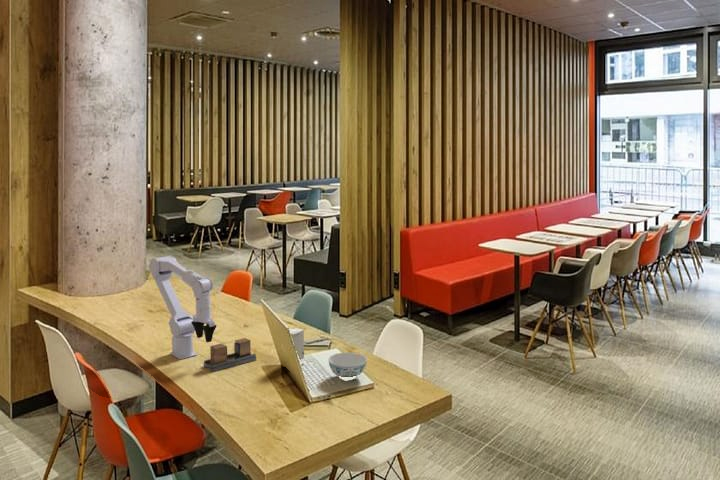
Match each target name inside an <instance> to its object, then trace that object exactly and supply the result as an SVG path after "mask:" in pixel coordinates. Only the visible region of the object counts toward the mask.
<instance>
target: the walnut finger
mask: <svg viewBox="0 0 720 480" xmlns="http://www.w3.org/2000/svg"><path fill="white" fill-rule="evenodd" d="M209 349H210V350H209V351H210V359H211V363H212V364H217V363H221V362H225V361H227V355H228V346H227V345H225V344H223V343H218V344H213V345H210V348H209Z"/></svg>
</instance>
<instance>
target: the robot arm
mask: <svg viewBox="0 0 720 480" xmlns="http://www.w3.org/2000/svg"><path fill="white" fill-rule="evenodd" d="M149 260H150V261H149V264H148V269H149V272H150V274H151V275H152V277H153V279H154V282H155V284H156V286H157V289H158V290H159V293H160V294H161V297H162V299H163V301H164V302H165V305H166V307H167V309H168V312H169V314H170V316H171V318H170V319H169V321H168V325H169V328H170V329H169V330H170V332H171V334H172V338H171V349H172V350H171V351H172V352H170V353H169V354H170V355H172V356H173V357H175V358H177V359H179V360H182V359H187V358H192V357H195V356H198V353H196V352H195V351H194V343H193V341H194V334H196V339H199V338H203V337H204V338H205V342H206V343H211V342H212V341H213V337H214V333H215V330H216V328H217V324H215V320H213V318H212V316H211V291H212V290H213V287H214V286H213V285H214V284H213V282H212V280H211V279H210V278H209V277H202V275H199V274H198V273H197V272H196V271H194V269H188V270H187V269H186V268H185V267H183V266H182V265H181V264H180V263H178V261H177V259H176V257H174V256H173V255H167V256H160V257H156V258H155V257H154V258H153V257H152V258H151V259H149ZM173 273H174V274H175V275H177V276H179V277H180V278H181V280H182V282H183V283H184V284H186V285H187V286H189V287H190V288H191V290H192V292H193V297H194V298H195V314H192V315H191V314H190V313H189V312H186V311H185V310H184V309H183V306H182V305H181V302H180V301H179V298H178V296H177V294H176V291H175V290H174V287H173V285H172V283H171V281H170V278H171V277H172V275H173Z"/></svg>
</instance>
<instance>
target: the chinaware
mask: <svg viewBox="0 0 720 480" xmlns="http://www.w3.org/2000/svg"><path fill="white" fill-rule="evenodd" d="M327 360H328V361H327V362H328V364H329V368H330V370H331V371H332V373H333V374H334V375H335V376H336V377H338V376H341V377H353V376H357V375H359V376H360V375H361V374H362V373H363V372H364V370H365V369H366V366H367V364H368V358H367V357H366V356H365V355H362V354H360V353H356V352H339V353H335V354H332V355H330V356H329V357H328V359H327ZM357 377H358V376H357Z"/></svg>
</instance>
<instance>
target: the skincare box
mask: <svg viewBox="0 0 720 480" xmlns="http://www.w3.org/2000/svg"><path fill="white" fill-rule="evenodd" d="M288 330H290V333H291V336H292V339H293V342H294V345H295V348H296V351H297V354H298V356H299V359H300V360H301V359H303V358H304V359H305V339H304V338H305V337H304V336H305V335H304V334H305V331H304V329H302V328H296V327H293V328H289V329H288Z"/></svg>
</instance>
